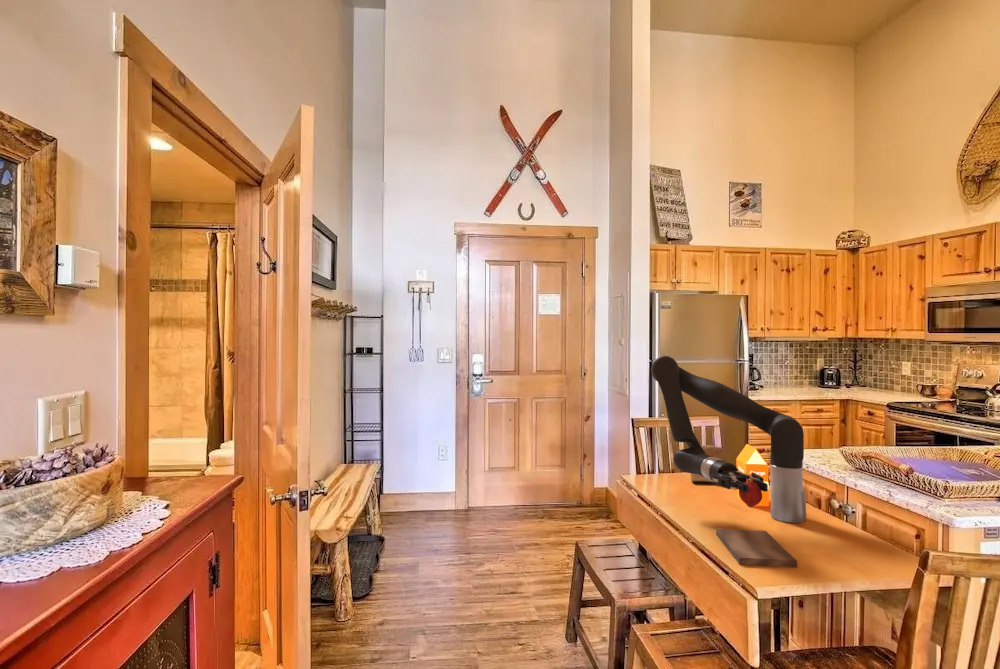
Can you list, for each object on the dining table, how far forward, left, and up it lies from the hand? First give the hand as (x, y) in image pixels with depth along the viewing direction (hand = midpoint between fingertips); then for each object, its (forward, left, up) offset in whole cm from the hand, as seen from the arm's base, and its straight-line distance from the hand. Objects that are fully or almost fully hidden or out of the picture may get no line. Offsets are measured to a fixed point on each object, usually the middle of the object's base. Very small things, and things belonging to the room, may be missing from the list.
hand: (756, 488), depth 134 cm
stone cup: (-6, -72, -18) cm, 74 cm away
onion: (+1, -3, -6) cm, 7 cm away
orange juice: (-15, -46, -18) cm, 51 cm away
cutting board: (0, -3, -18) cm, 18 cm away
